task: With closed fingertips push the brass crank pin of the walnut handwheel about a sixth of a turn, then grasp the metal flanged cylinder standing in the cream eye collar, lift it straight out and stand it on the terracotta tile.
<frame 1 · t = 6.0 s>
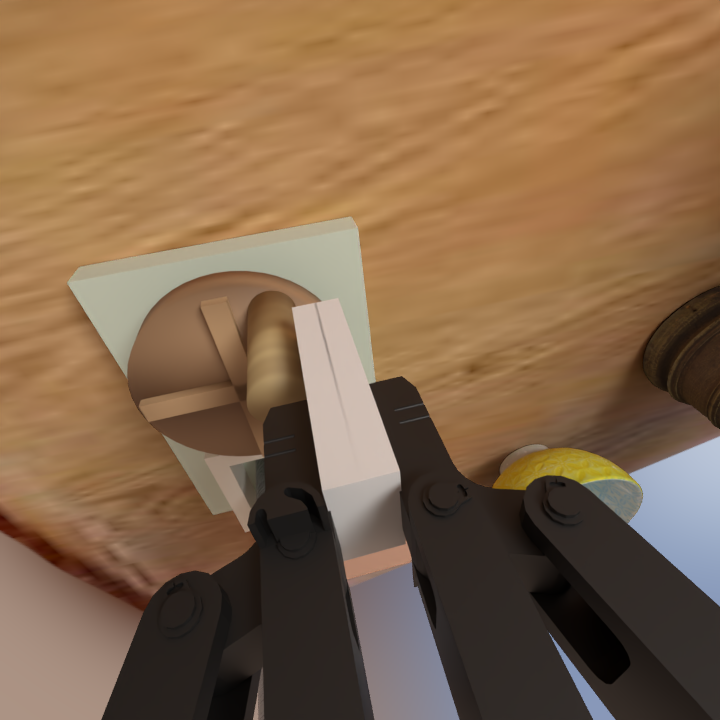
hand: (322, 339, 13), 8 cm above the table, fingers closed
bowl: (522, 460, 34), on the table
metal flanged cylinder: (288, 456, 25), point 1 cm above the table, touching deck
rest tile: (338, 513, 33), on the table
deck: (268, 385, 24), on the table
container: (698, 334, 29), on the table
handwheel: (247, 414, 16), point 7 cm above the table, hinge at 0.0°, touching gripper
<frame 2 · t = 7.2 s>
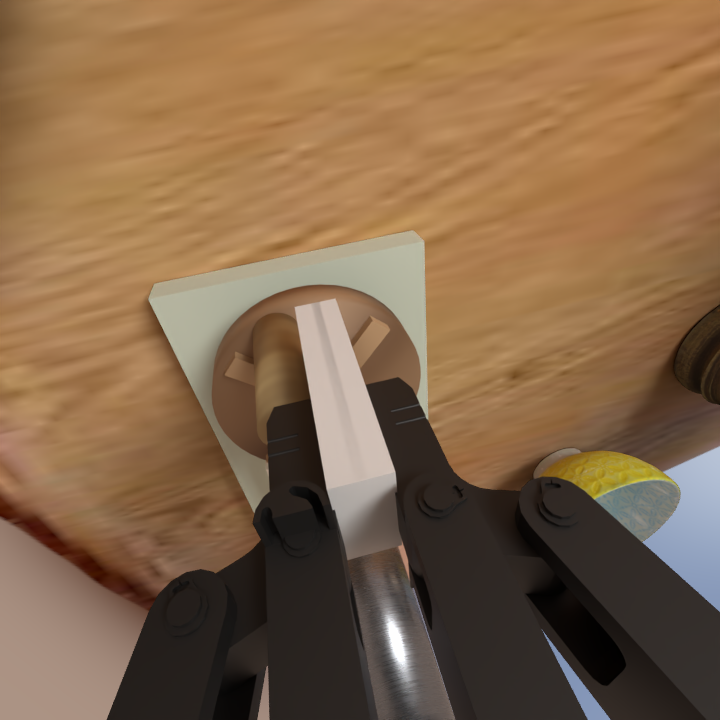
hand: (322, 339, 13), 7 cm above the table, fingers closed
bowl: (555, 464, 35), on the table
metal flanged cylinder: (338, 466, 26), point 1 cm above the table, touching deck
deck: (321, 395, 24), on the table
handwheel: (329, 423, 16), point 7 cm above the table, hinge at 47.5°, touching gripper
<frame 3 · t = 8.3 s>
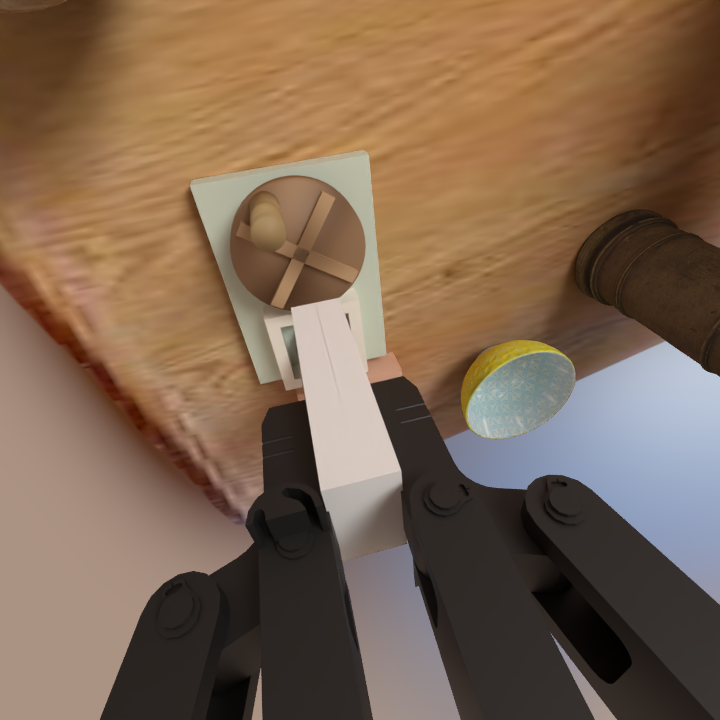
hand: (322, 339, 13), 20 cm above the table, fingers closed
bowl: (490, 360, 45), on the table
rest tile: (350, 399, 43), on the table
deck: (304, 278, 34), on the table
container: (615, 253, 40), on the table
handwheel: (303, 263, 26), point 7 cm above the table, hinge at 54.5°
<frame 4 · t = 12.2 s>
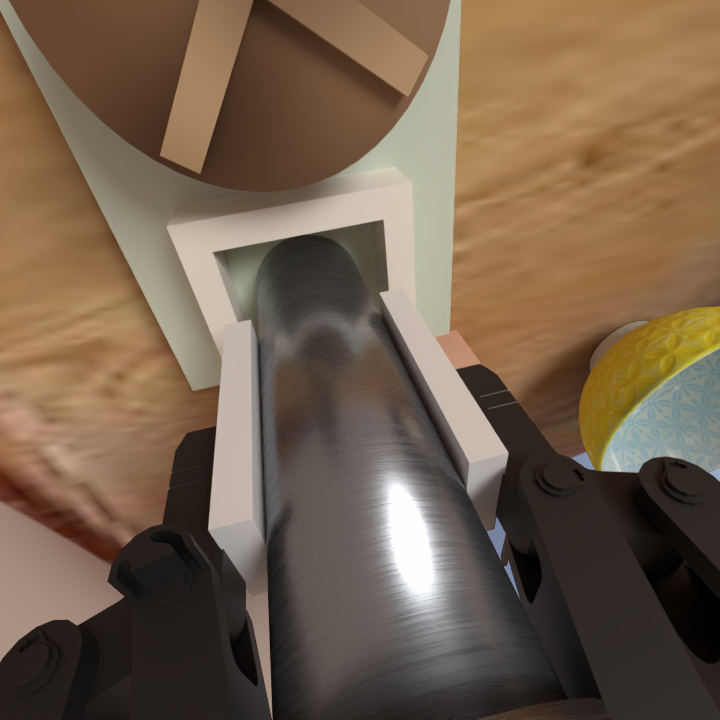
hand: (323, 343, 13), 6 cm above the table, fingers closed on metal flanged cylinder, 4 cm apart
bowl: (620, 349, 25), on the table
metal flanged cylinder: (308, 284, 16), point 1 cm above the table, touching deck, gripper
rest tile: (371, 417, 24), on the table
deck: (278, 144, 14), on the table
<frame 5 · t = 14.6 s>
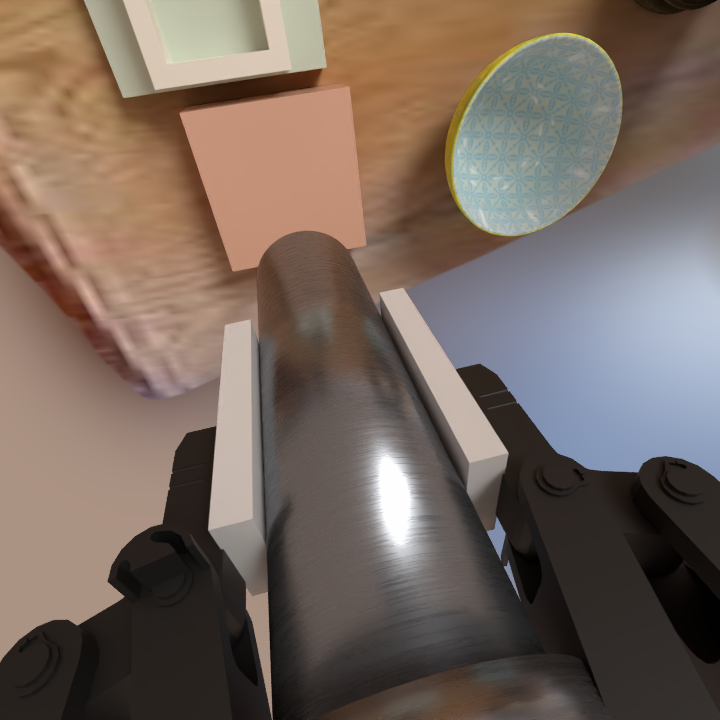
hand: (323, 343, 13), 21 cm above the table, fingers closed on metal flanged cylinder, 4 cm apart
bowl: (490, 132, 31), on the table
metal flanged cylinder: (307, 279, 16), point 16 cm above the table, touching gripper
rest tile: (282, 176, 29), on the table
when the fingers open (8 cm above the table, at t = 17.1 s): metal flanged cylinder stays where it is, resting on rest tile.
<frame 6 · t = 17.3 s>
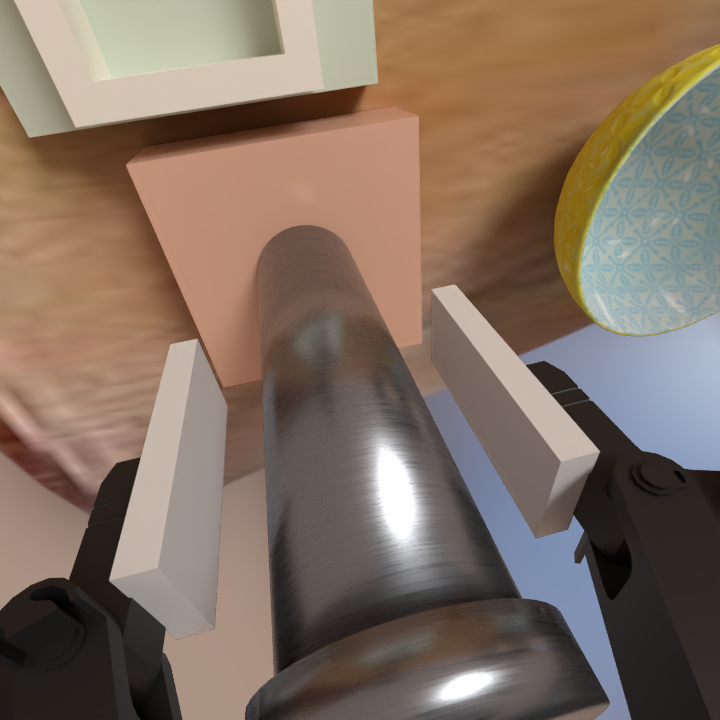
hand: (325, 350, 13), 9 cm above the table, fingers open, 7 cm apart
bowl: (606, 174, 21), on the table
metal flanged cylinder: (306, 272, 17), point 3 cm above the table, touching rest tile
rest tile: (298, 245, 19), on the table
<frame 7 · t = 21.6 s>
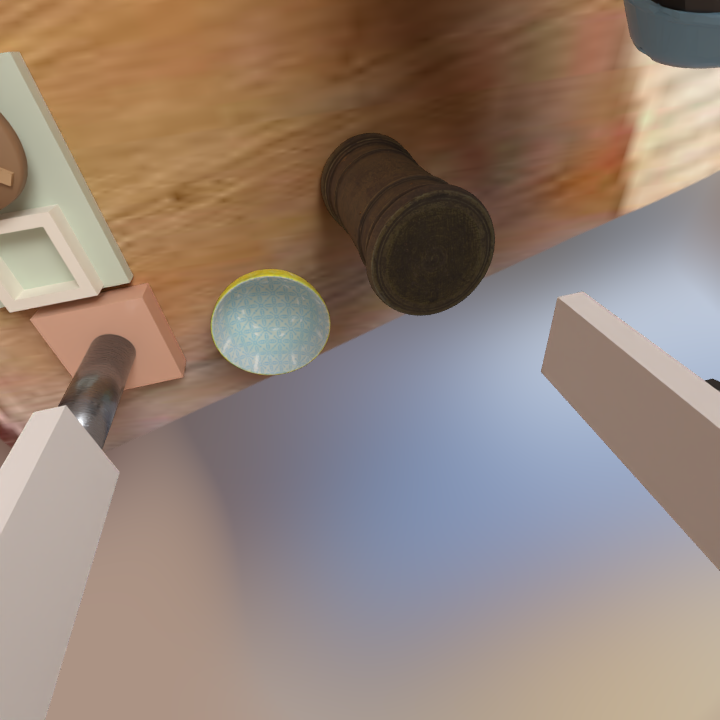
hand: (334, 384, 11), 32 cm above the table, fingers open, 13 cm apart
bowl: (269, 298, 44), on the table
metal flanged cylinder: (113, 350, 41), point 3 cm above the table, touching rest tile
rest tile: (120, 334, 43), on the table
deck: (9, 194, 34), on the table
container: (367, 183, 39), on the table
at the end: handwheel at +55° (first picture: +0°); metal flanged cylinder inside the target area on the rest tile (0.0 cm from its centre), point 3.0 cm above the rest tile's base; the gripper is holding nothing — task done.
